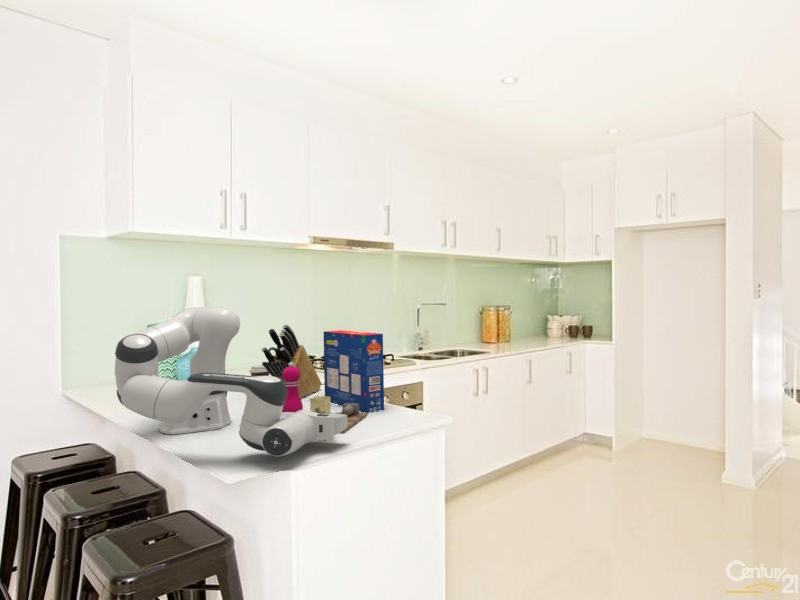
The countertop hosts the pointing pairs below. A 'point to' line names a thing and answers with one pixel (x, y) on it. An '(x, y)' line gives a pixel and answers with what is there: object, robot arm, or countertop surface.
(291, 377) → the pepper mill
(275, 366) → the knife block
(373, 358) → the pasta box
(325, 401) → the block
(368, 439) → the countertop surface
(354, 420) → the shaft bench
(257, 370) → the coffee cup
